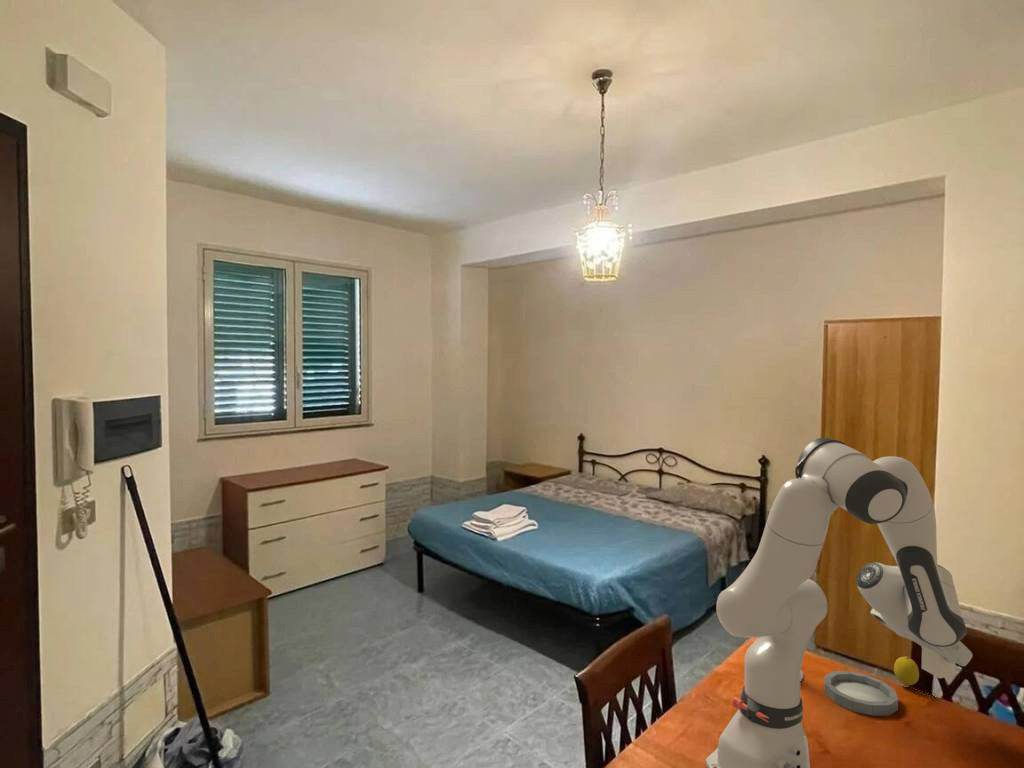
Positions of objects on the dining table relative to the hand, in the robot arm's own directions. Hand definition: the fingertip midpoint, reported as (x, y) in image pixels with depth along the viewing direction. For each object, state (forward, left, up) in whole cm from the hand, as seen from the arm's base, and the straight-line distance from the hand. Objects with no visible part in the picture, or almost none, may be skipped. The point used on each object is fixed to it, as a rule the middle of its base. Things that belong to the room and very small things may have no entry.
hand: (940, 654), depth 136 cm
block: (-1, 0, -4) cm, 4 cm away
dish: (-6, +16, -16) cm, 23 cm away
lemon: (+10, +12, -16) cm, 23 cm away
